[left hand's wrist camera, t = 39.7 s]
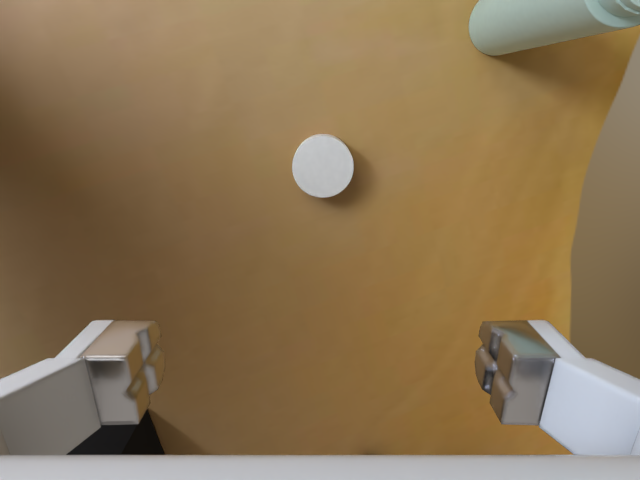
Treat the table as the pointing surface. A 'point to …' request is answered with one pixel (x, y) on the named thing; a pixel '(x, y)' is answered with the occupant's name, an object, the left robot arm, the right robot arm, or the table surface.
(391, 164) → the table surface
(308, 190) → the lid
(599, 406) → the left robot arm
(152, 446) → the black boxy piece
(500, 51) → the jar
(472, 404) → the table surface
